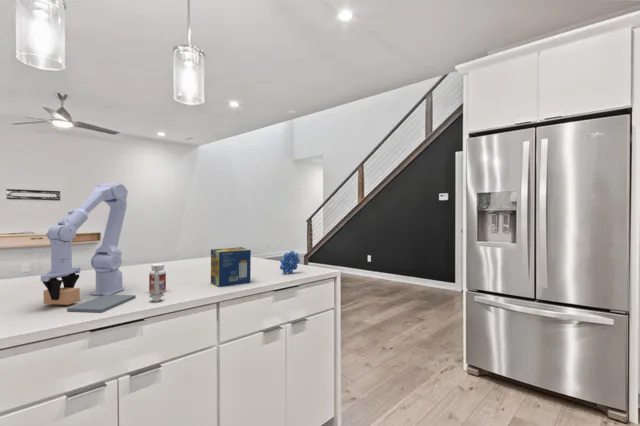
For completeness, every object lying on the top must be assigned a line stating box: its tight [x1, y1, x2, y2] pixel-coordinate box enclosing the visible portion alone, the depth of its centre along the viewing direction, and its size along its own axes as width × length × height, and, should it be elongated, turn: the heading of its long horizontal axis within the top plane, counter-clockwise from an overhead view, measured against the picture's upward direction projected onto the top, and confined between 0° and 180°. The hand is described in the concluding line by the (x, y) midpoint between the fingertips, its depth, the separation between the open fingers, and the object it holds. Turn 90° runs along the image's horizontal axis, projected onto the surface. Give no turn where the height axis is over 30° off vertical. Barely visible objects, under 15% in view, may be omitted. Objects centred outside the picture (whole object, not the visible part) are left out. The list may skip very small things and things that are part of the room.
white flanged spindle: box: [149, 266, 165, 303], centre depth 124 cm, size 13×5×5 cm
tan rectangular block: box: [43, 287, 81, 305], centre depth 118 cm, size 5×9×4 cm, turn 86°
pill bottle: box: [148, 263, 167, 294], centre depth 138 cm, size 6×6×11 cm
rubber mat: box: [66, 294, 137, 314], centre depth 120 cm, size 18×12×1 cm, turn 176°
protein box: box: [210, 246, 252, 288], centre depth 155 cm, size 10×15×16 cm
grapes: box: [279, 250, 301, 275], centre depth 178 cm, size 12×7×12 cm, turn 124°
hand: (61, 297), depth 118 cm, fingers closed on tan rectangular block, 5 cm apart
